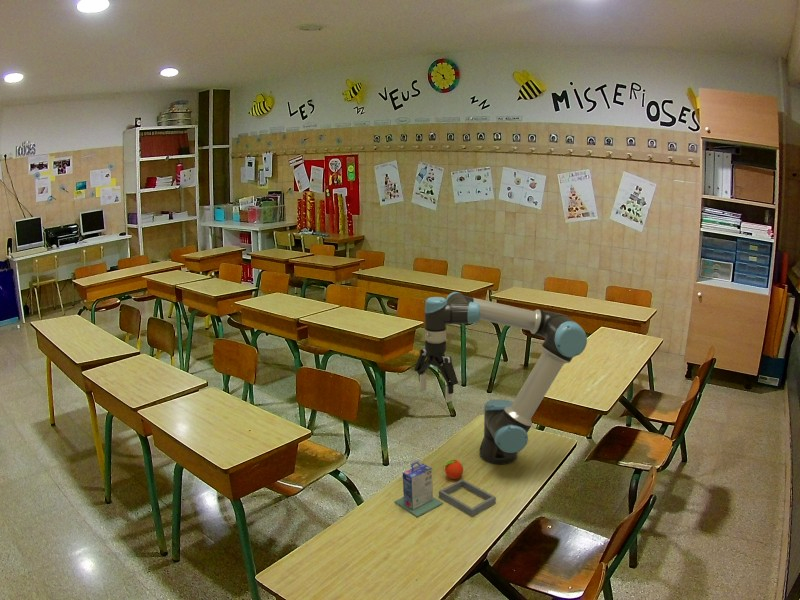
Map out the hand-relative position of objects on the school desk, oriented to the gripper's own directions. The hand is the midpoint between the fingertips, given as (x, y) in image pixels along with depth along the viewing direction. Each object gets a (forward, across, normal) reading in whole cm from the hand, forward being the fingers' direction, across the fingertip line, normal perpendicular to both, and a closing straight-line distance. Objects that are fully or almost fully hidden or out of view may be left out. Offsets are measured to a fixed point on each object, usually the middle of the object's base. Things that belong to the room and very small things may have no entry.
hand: (435, 395), depth 224 cm
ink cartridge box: (+32, +9, -17) cm, 38 cm away
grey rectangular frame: (+33, +19, -3) cm, 38 cm away
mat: (+33, +9, -17) cm, 38 cm away
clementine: (+33, +5, +4) cm, 34 cm away
